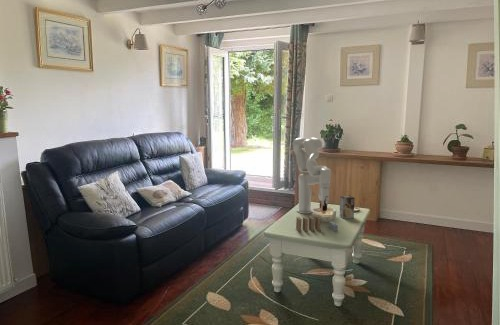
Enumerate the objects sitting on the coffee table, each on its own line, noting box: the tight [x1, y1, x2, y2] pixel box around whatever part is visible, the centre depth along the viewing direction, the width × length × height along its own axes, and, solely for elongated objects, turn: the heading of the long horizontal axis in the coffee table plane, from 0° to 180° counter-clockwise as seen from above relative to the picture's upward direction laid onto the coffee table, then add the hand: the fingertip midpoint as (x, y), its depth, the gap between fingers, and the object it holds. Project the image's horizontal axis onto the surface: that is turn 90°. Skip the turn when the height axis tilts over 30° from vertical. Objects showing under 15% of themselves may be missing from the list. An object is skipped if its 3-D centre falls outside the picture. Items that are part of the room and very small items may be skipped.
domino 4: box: [314, 215, 322, 232], centre depth 247 cm, size 6×2×9 cm, turn 8°
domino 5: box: [320, 201, 327, 215], centre depth 259 cm, size 6×2×9 cm, turn 8°
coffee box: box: [339, 195, 356, 219], centre depth 274 cm, size 9×6×16 cm
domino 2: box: [301, 216, 309, 233], centre depth 246 cm, size 6×2×9 cm, turn 8°
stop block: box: [328, 220, 339, 232], centre depth 249 cm, size 8×3×4 cm, turn 8°
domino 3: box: [308, 215, 315, 232], centre depth 246 cm, size 6×2×9 cm, turn 8°
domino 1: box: [295, 216, 303, 233], centre depth 245 cm, size 6×2×9 cm, turn 8°
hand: (323, 208), depth 260 cm, fingers closed on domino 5, 5 cm apart
